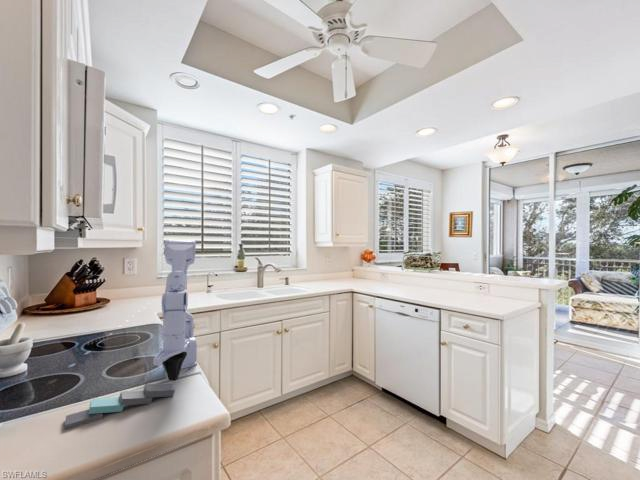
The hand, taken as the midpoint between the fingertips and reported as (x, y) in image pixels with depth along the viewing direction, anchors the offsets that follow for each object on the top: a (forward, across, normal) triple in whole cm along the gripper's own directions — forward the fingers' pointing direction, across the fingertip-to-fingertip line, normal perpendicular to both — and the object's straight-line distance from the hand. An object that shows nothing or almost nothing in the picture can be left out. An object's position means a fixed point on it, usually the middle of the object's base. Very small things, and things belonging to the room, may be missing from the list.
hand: (173, 379), depth 82 cm
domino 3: (+3, +4, -4) cm, 7 cm away
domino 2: (+3, +8, -8) cm, 12 cm away
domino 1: (+4, +12, -11) cm, 17 cm away
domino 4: (+3, 0, 0) cm, 3 cm away
